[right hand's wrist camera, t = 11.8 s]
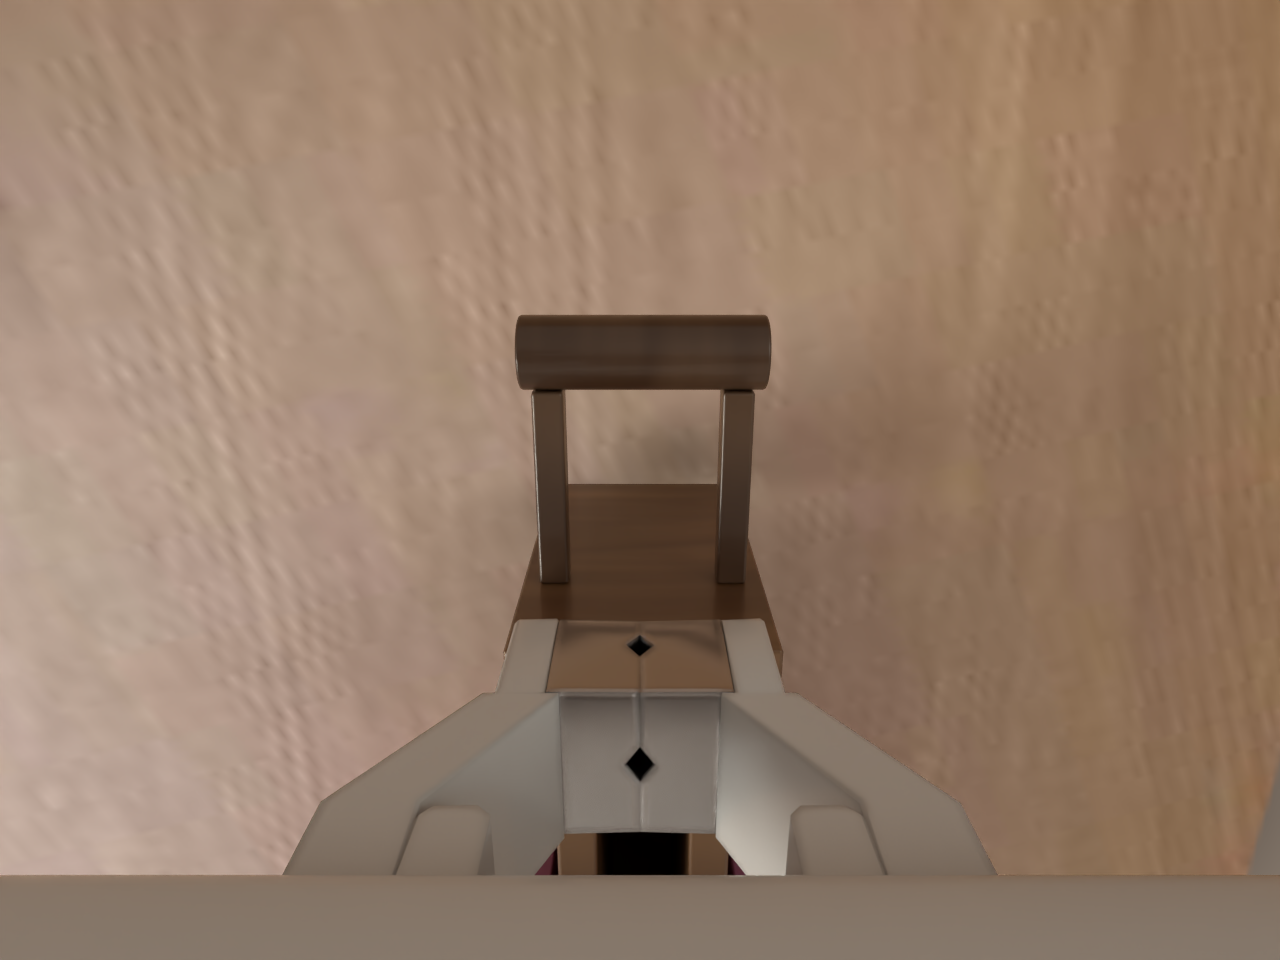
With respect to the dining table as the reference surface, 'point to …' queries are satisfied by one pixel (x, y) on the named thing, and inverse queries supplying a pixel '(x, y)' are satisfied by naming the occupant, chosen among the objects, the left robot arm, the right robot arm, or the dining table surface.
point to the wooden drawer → (643, 516)
